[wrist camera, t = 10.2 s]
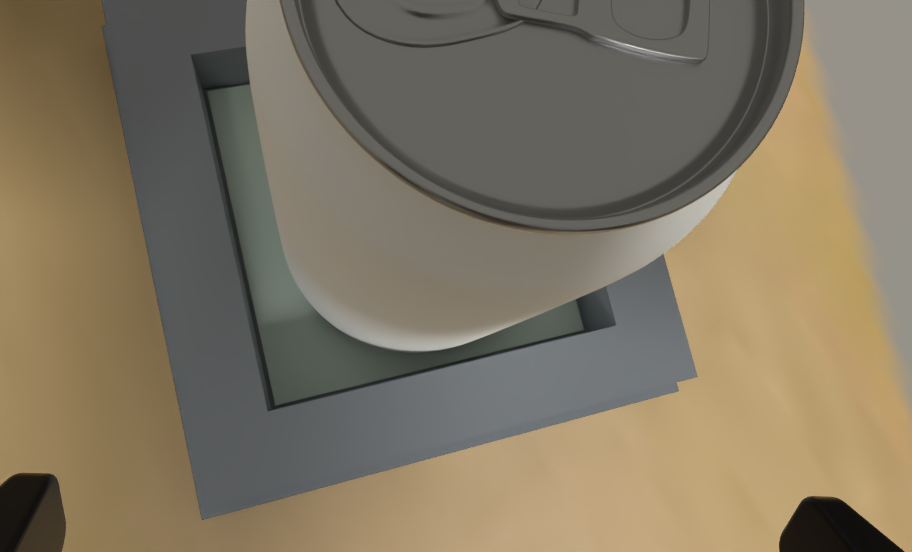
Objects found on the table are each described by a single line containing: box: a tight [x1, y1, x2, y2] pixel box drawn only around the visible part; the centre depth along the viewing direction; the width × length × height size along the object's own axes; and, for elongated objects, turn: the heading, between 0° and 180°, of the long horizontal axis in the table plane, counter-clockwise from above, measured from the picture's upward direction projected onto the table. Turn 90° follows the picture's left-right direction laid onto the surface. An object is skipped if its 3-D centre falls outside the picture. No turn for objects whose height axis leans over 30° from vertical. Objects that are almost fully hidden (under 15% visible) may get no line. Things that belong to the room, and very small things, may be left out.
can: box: [245, 0, 804, 353], centre depth 14 cm, size 6×6×12 cm
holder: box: [102, 0, 697, 520], centre depth 19 cm, size 12×12×3 cm
